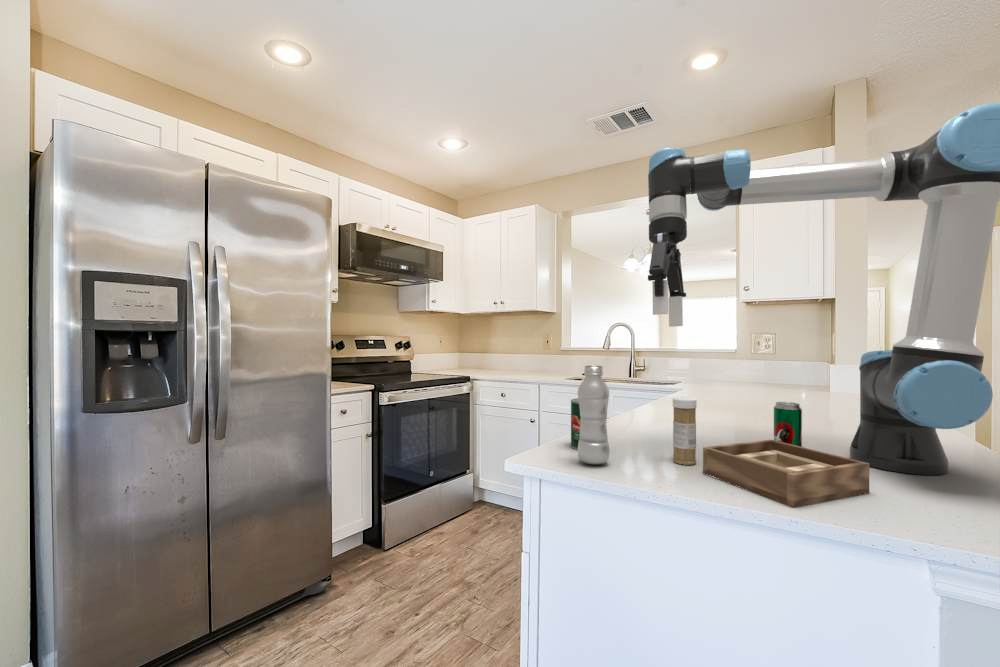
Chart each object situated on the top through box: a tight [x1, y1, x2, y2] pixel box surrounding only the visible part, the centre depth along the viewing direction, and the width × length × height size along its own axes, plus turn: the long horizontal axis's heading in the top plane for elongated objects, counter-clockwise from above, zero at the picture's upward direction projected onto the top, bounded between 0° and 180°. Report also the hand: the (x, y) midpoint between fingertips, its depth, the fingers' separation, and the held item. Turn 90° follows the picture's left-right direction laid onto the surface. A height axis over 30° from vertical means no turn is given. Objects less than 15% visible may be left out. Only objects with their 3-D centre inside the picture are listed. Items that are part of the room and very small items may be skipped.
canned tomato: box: [570, 397, 581, 450], centre depth 106 cm, size 8×8×11 cm
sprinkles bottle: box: [672, 396, 698, 466], centre depth 94 cm, size 5×5×14 cm
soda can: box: [773, 401, 803, 447], centre depth 96 cm, size 5×5×12 cm
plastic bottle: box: [577, 365, 611, 465], centre depth 93 cm, size 6×7×20 cm
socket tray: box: [702, 439, 870, 508], centre depth 81 cm, size 18×18×5 cm
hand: (668, 320), depth 92 cm, fingers open, 13 cm apart
